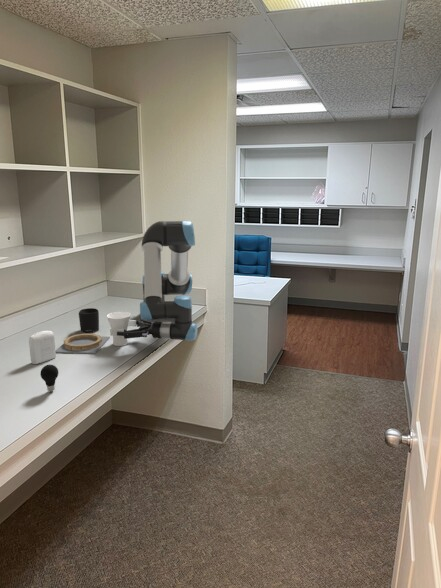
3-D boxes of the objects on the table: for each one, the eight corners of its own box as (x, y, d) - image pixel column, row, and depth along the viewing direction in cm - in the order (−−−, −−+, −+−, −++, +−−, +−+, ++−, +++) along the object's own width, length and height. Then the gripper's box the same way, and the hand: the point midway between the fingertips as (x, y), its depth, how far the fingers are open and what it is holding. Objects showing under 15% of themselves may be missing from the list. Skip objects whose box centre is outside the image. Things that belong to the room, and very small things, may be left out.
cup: (126, 348, 196) (125, 319, 193) (104, 346, 198) (102, 317, 194) (135, 340, 206) (134, 312, 203) (114, 338, 208) (112, 311, 205)
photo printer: (51, 355, 188) (49, 327, 185) (57, 357, 186) (55, 329, 183) (29, 363, 180) (26, 334, 177) (35, 365, 178) (32, 336, 175)
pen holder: (75, 331, 218) (74, 312, 215) (89, 326, 226) (88, 307, 223) (90, 334, 213) (88, 314, 211) (103, 329, 222) (102, 309, 219)
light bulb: (49, 386, 160) (47, 361, 157) (63, 389, 158) (61, 363, 156) (38, 394, 154) (35, 367, 152) (53, 396, 153) (50, 369, 150)
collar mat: (72, 336, 210) (72, 335, 210) (109, 337, 209) (109, 336, 209) (54, 352, 191) (54, 351, 191) (95, 354, 190) (95, 352, 190)
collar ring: (72, 337, 208) (72, 333, 208) (106, 338, 207) (106, 334, 207) (58, 349, 193) (58, 345, 192) (94, 350, 192) (94, 346, 191)
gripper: (153, 348, 185) (105, 344, 189) (170, 329, 209) (127, 326, 213) (152, 331, 183) (104, 328, 187) (170, 313, 207) (126, 311, 211)
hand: (116, 327), depth 200 cm, fingers open, 13 cm apart
